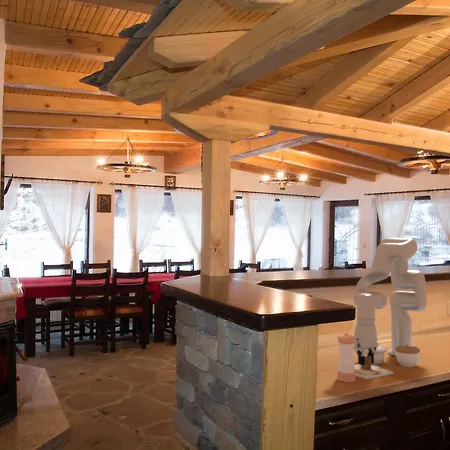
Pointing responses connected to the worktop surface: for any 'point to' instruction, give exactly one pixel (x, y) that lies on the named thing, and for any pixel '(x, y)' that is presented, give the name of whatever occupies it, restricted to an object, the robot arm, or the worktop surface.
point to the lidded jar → (407, 355)
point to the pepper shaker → (346, 358)
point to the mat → (385, 372)
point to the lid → (368, 368)
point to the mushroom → (377, 354)
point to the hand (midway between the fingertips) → (366, 363)
